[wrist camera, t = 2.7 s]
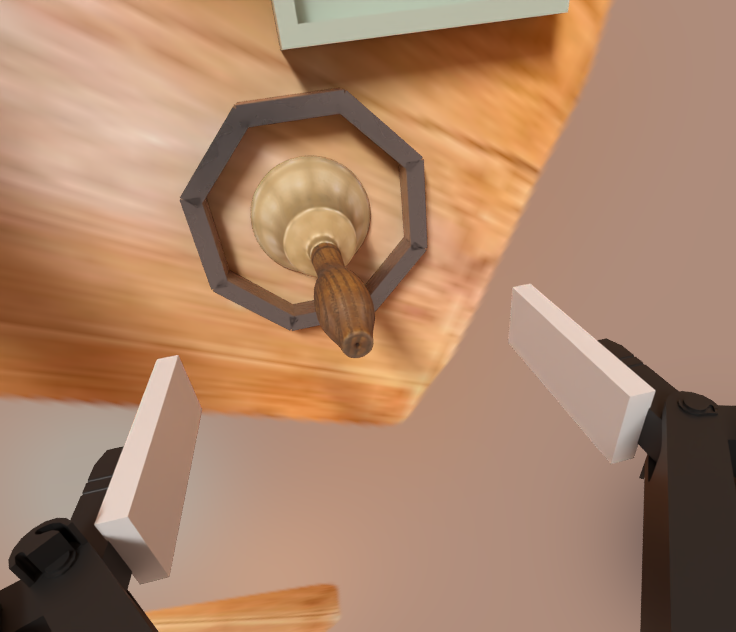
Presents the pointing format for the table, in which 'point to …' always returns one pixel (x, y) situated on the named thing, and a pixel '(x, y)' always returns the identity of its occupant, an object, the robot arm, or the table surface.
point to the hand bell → (320, 240)
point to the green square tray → (392, 17)
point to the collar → (292, 110)
